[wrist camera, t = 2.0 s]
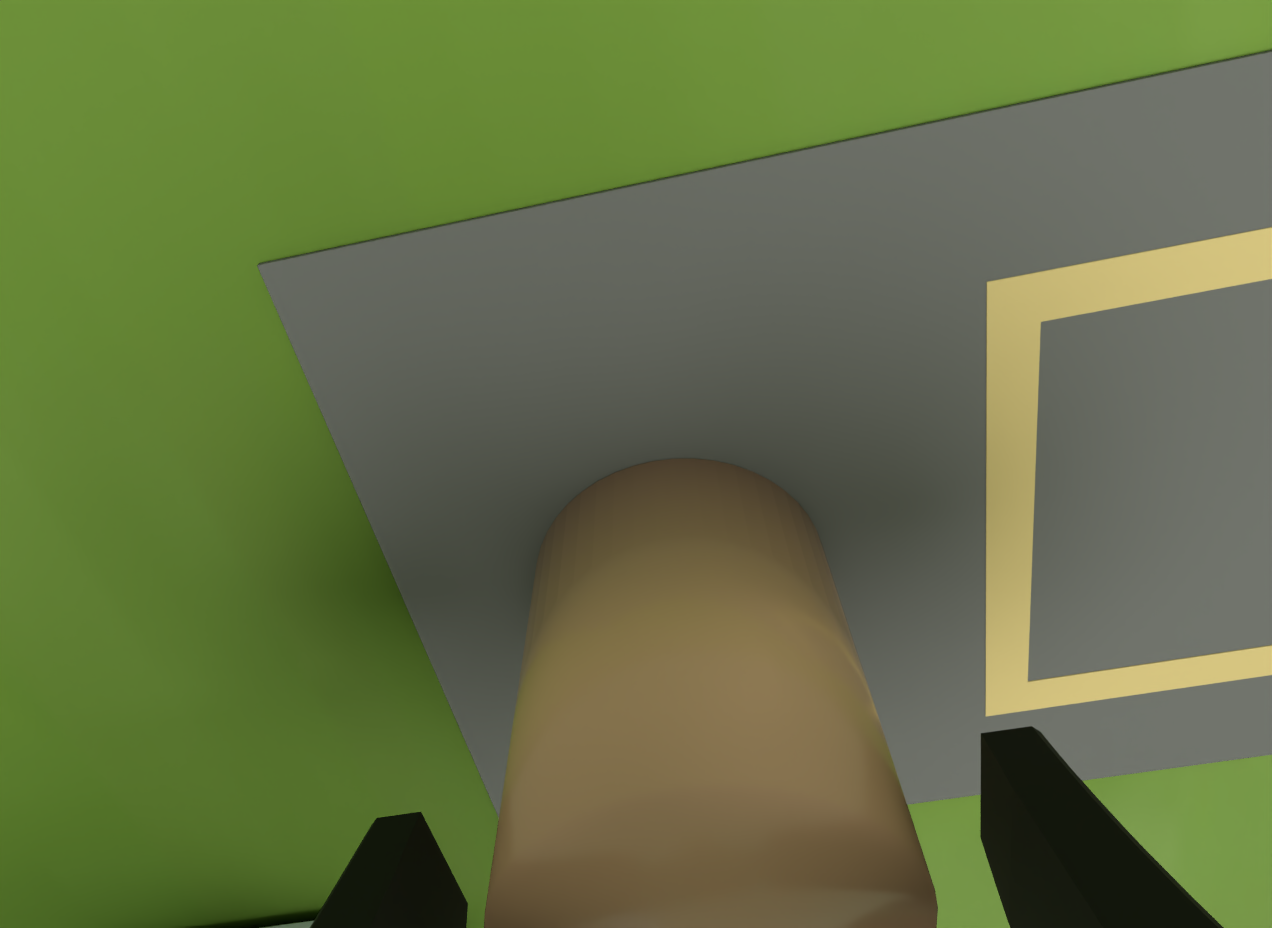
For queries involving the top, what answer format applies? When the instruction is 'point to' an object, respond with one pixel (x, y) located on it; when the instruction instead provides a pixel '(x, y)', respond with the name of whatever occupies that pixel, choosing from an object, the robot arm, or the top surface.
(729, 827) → the tan upright cylinder
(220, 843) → the top surface
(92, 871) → the top surface
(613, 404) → the counter mat
